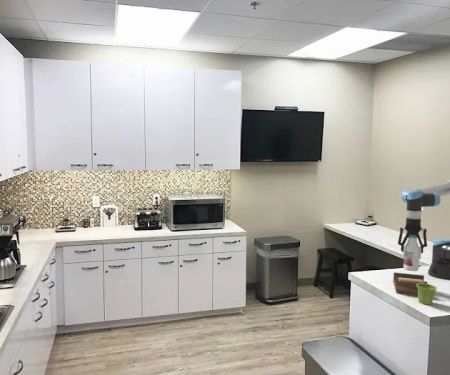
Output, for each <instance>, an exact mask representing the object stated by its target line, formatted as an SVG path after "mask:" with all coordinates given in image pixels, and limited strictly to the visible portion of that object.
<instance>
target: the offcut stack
mask: <svg viewBox="0 0 450 375" xmlns="http://www.w3.org/2000/svg"><path fill="white" fill-rule="evenodd" d="M399 281H406V282H416V283H424V282H423V280H419V279H409V278H399Z"/></svg>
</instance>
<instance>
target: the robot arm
mask: <svg viewBox="0 0 450 375" xmlns="http://www.w3.org/2000/svg"><path fill="white" fill-rule="evenodd" d="M447 195H450V179H449V180H448V181H446V182H441V183H438V184H434V185H430V186H427V187H422V188H418V189H408V190H404V191H402V193H401V197H400V198H401V200H402V201H403V202H404V203H406V213H405V214H406V215H405V216H406V218H405V226H400V227H399V236H398V240H397V244H398V246H400V250H401V253H402V258H403V259H404V258H405V246H406V243H407V241H408V239H409V238H408V237H409V235H410V234H411V235H412V234H414V235H417V240H418V243H419V245H420V246H419V260H421V259H422V258H421V257H422V254H423V253H424V248H427V247H428V241H427V231H428V230H427V229H426V228H422V219H421V218H422V208H426V207H427V208H429V207H431V208H434V207H438V206H439V205H440V204H441V200H442V199H441V198H442V197H443V196H447ZM404 231H406V234H405V236H404V238H403V233H404ZM420 232H422V237H423V241H422V239H421V236H420ZM402 239H403V240H402ZM432 242H433V243H432V250H431V251H432V253H431V254H432V255H431V263H430V265H429V268H428V269H427V270H428V271H427V274H428V276H430V277H433V278H436V279H441V280H450V238H436V239H434V240H433V241H432Z"/></svg>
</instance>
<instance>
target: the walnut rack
mask: <svg viewBox="0 0 450 375" xmlns="http://www.w3.org/2000/svg"><path fill="white" fill-rule="evenodd" d="M399 278H409V279H419V280H423V282H424V284H428V281H425V275H424V274H413V273H407V272H406V273H403V272H394V271H393V278H392V280H393V281H392V282H393V286H395V287H394V290H395V294H400V295H408V296H415V297H418V288H417V285H416V284H418V283H416V282H406V281H399Z"/></svg>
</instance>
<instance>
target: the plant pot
mask: <svg viewBox="0 0 450 375" xmlns="http://www.w3.org/2000/svg"><path fill="white" fill-rule="evenodd" d="M416 285H417V288H418V296H417V297H418V298H417V299H418V302H419V303H420V304H422V305H429V306H430V305H432V304H433V301H434V297H435V293H436V291H437V290H438V288H437V286H436V285H433V284H430V283H427V284H424V283H418V284H416Z"/></svg>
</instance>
